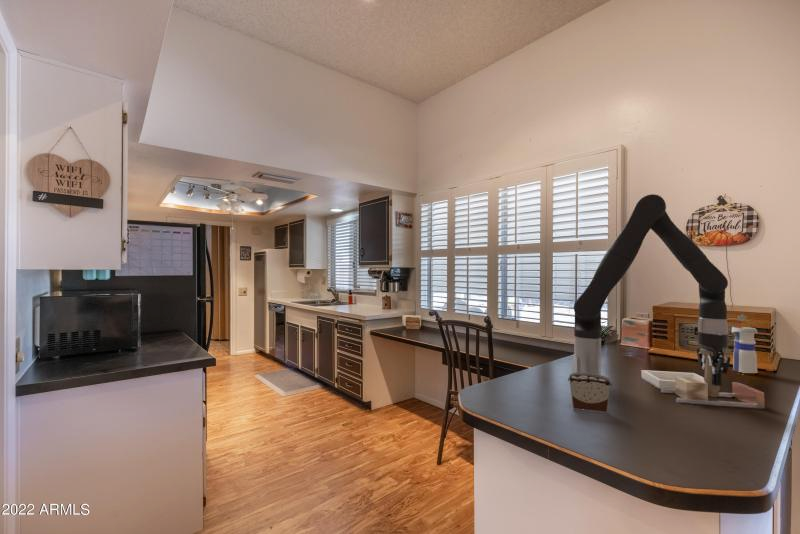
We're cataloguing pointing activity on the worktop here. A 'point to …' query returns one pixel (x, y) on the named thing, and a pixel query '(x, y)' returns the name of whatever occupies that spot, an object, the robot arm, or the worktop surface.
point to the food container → (590, 391)
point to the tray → (666, 378)
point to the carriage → (691, 388)
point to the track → (738, 391)
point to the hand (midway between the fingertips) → (712, 382)
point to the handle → (710, 375)
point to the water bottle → (744, 349)
